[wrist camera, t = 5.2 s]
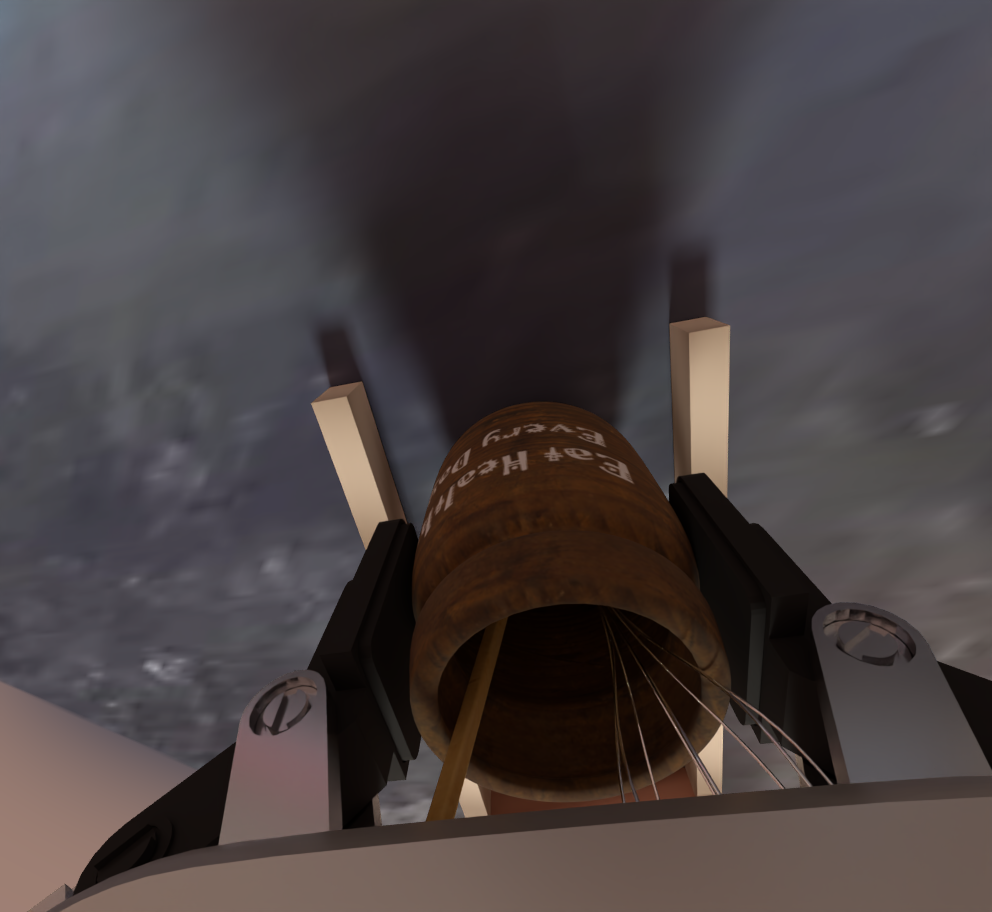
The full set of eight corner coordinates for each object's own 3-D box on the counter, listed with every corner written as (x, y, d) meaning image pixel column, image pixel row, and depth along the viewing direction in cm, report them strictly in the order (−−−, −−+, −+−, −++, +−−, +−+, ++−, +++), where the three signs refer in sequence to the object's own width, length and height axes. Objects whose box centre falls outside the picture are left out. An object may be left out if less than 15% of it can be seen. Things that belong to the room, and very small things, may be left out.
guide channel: (329, 387, 14) (218, 480, 8) (706, 316, 13) (855, 370, 7) (490, 846, 24) (487, 1024, 19) (707, 827, 23) (771, 1008, 18)
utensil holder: (670, 526, 14) (1259, 1522, 3) (486, 600, 15) (448, 1489, 4) (594, 353, 12) (1636, 1615, 1) (388, 456, 13) (-166, 1492, 2)
